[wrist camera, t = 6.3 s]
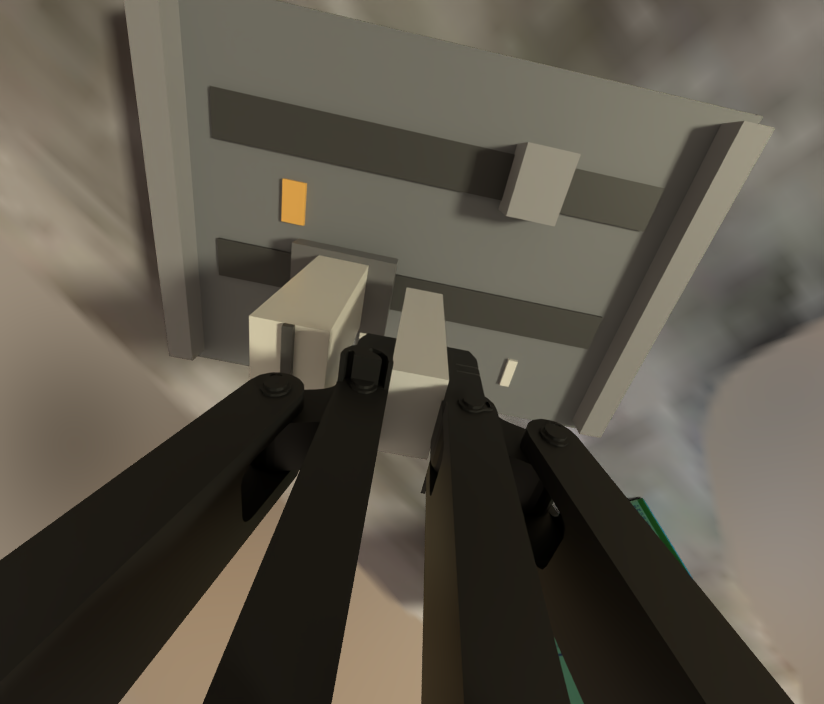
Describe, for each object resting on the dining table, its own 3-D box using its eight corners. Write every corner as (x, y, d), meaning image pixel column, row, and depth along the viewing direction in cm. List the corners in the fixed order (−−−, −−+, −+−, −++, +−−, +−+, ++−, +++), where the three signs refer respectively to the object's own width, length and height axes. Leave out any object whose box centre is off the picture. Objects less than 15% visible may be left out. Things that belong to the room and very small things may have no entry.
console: (163, -16, 15) (91, -62, 12) (735, 120, 16) (809, 111, 13) (195, 341, 22) (156, 371, 19) (582, 415, 23) (605, 455, 20)
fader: (299, 238, 17) (199, 299, 10) (398, 258, 17) (373, 333, 10) (295, 310, 19) (207, 409, 11) (385, 328, 19) (356, 436, 12)
